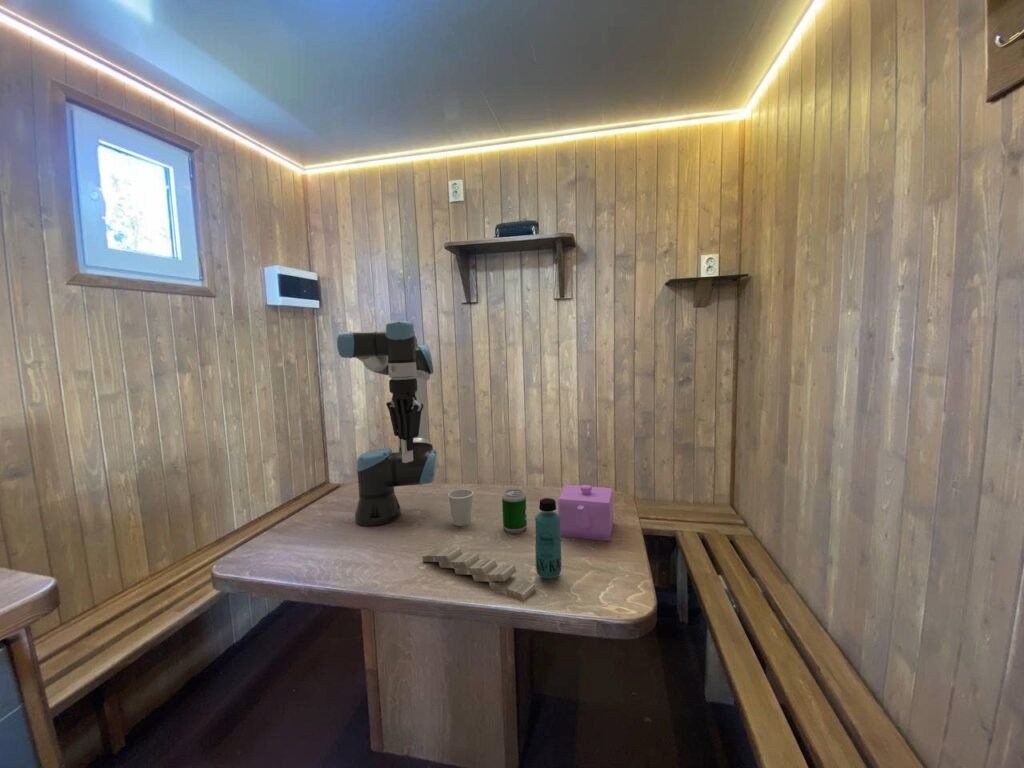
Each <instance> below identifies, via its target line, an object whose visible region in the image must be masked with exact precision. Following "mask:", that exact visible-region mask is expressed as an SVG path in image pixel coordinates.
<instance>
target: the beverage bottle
mask: <svg viewBox="0 0 1024 768" xmlns="http://www.w3.org/2000/svg"><path fill="white" fill-rule="evenodd" d="M538 508H539V510H540V512H539V513H538V514H536V516H535V517H534V520H535V571H536V573H537V575H539V577H541V578H545V579H553V578H556V577H559V575H560V574H561V573H562V562H563V561H562V560H563V559H562V555H563V554H562V543H561V542H562V540H561V539H562V538H561V537H562V536H560V516H559V515H558V512H555V511H556V510H557V503H556V500H555V499H553V498H547V497H545V498H541V499H540V500H539V506H538Z"/></svg>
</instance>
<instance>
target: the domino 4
mask: <svg viewBox="0 0 1024 768" xmlns="http://www.w3.org/2000/svg"><path fill="white" fill-rule="evenodd" d="M516 572H517V568H516V565H515V564H503V565H502V564H501V565H500V564H499V565H498V564H497V566H496V567H494V568H493V569H492V570H490V571H489V572H488V573H486V574H485V575H471V576H472V580H473V582H489V581H505V580H506V579H508V578H509V577H510V576H511V575H512V576H514V574H515V573H516Z"/></svg>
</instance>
